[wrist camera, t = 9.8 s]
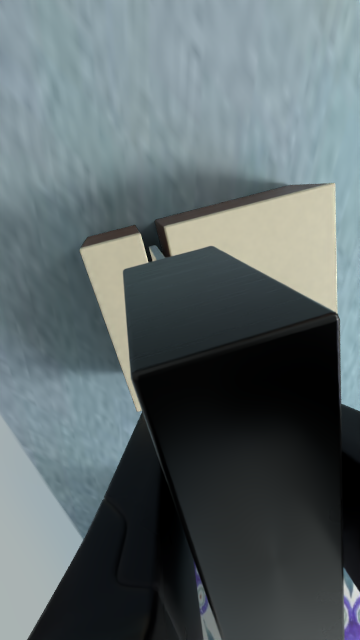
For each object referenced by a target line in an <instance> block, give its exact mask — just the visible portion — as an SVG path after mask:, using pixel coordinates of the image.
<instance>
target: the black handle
mask: <svg viewBox="0 0 360 640" xmlns="http://www.w3.org/2000/svg"><path fill="white" fill-rule="evenodd" d="M149 249H150V253H151V257H152V262H149V263H145V264H141V265H137V266H134V267H130V268H126V269H124V270H123V284H124V297H125V310H126V322H127V335H128V348H129V361H130V374H131V380H132V383H133V386H134V389H135V392H136V395H137V398H138V401H139V404H140V406H141V409H142V412H143V415H144V418H145V421H146V424H147V427H148V429H149V432H150V435H151V438H152V441H153V444H154V447H155V450H156V453H157V455H158V458H159V461H160V464H161V467H162V470H163V473H164V476H165V479H166V481H167V484H168V487H169V490H170V493H171V496H172V499H173V502H174V504H175V507H176V510H177V513H178V516H179V519H180V522H181V525H182V528H183V530H184V533H185V536H186V539H187V542H188V545H189V548H190V551H191V554H192V556H193V559H194V562H195V565H196V568H197V571H198V574H199V577H200V579H201V582H202V585H203V588H204V591H205V594H206V597H207V600H208V603H209V605H210V608H211V611H212V614H213V617H214V620H215V623H216V626H217V629H218V631H219V634H220V637H221V640H345V638H344V571H343V503H342V436H341V369H340V319H339V316H338V314H337V313H336V312H334V311H333V310H331V309H329V308H327V307H325V306H323V305H321V304H320V303H318V302H316V301H314V300H312V299H310V298H309V297H307V296H305V295H303V294H301V293H299V292H297V291H296V290H294V289H292V288H290V287H288V286H286V285H285V284H283V283H281V282H279V281H277V280H275V279H273V278H272V277H270V276H268V275H266V274H264V273H262V272H260V271H259V270H257V269H255V268H253V267H251V266H249V265H248V264H246V263H244V262H242V261H240V260H238V259H236V258H235V257H233V256H231V255H229V254H227V253H225V252H224V251H222V250H220V249H218V248H216V247H214V246H208V247H205V248H201V249H197V250H194V251H190V252H186V253H182V254H179V255H175V256H171V257H167V258H165V257H164V255H163V254H162V253H161V251H160V250H159V249H158V247H157V246H156V245H154V246H150V247H149Z"/></svg>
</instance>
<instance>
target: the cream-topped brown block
mask: <svg viewBox="0 0 360 640" xmlns="http://www.w3.org/2000/svg"><path fill="white" fill-rule="evenodd" d="M80 253H81V256H82V259H83V262H84V265H85V267H86V270H87V273H88V276H89V279H90V281H91V284H92V287H93V290H94V293H95V295H96V298H97V301H98V304H99V307H100V309H101V312H102V315H103V318H104V321H105V323H106V326H107V329H108V332H109V335H110V337H111V340H112V343H113V346H114V349H115V351H116V354H117V357H118V360H119V363H120V365H121V368H122V371H123V374H124V377H125V379H126V382H127V385H128V388H129V390H130V393H131V396H132V399H133V402H134V404H135V407H136V410H137V412H139V411H142V409H141V406H140V404H139V401H138V398H137V395H136V392H135V389H134V386H133V383H132V380H131V374H130V361H129V348H128V335H127V322H126V310H125V297H124V284H123V270H124V269H126V268H130V267H134V266H137V265H141V264H145V263H148V259H147V256H146V252H145V248H144V245H143V241H142V237H141V234H140V232H139V231H138V229H137V227H136V226H135V225H133V226H129V227H125V228H121V229H117V230H113V231H109V232H106V233H102V234H98V235H94V236H90V237H87V239H86V240H85V242H84V243H83V245H82V247H81V248H80Z"/></svg>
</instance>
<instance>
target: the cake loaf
mask: <svg viewBox="0 0 360 640" xmlns="http://www.w3.org/2000/svg"><path fill="white" fill-rule="evenodd" d="M155 224H156V228H157V232H158V236H159V240H160V244H161V248H162V252H163V255H164V257H165V258H167V257H171V256H175V255H179V254H182V253H186V252H190V251H194V250H197V249H201V248H205V247H208V246H214V247H216V248H218V249H220V250H222V251H224V252H225V253H227V254H229V255H231V256H233V257H235V258H236V259H238V260H240V261H242V262H244V263H246V264H248V265H249V266H251V267H253V268H255V269H257V270H259V271H260V272H262V273H264V274H266V275H268V276H270V277H272V278H273V279H275V280H277V281H279V282H281V283H283V284H285V285H286V286H288V287H290V288H292V289H294V290H296V291H297V292H299V293H301V294H303V295H305V296H307V297H309V298H310V299H312V300H314V301H316V302H318V303H320V304H321V305H323V306H325V307H327V308H329V309H331V310H333V311H334V312H336V313H337V266H336V208H335V183H329V184H304V185H288V186H285V187H281V188H277V189H273V190H269V191H265V192H261V193H257V194H253V195H250V196H246V197H242V198H238V199H234V200H230V201H226V202H222V203H218V204H215V205H211V206H207V207H203V208H199V209H195V210H191V211H187V212H183V213H180V214H176V215H172V216H168V217H164V218H160V219H156V220H155Z"/></svg>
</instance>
